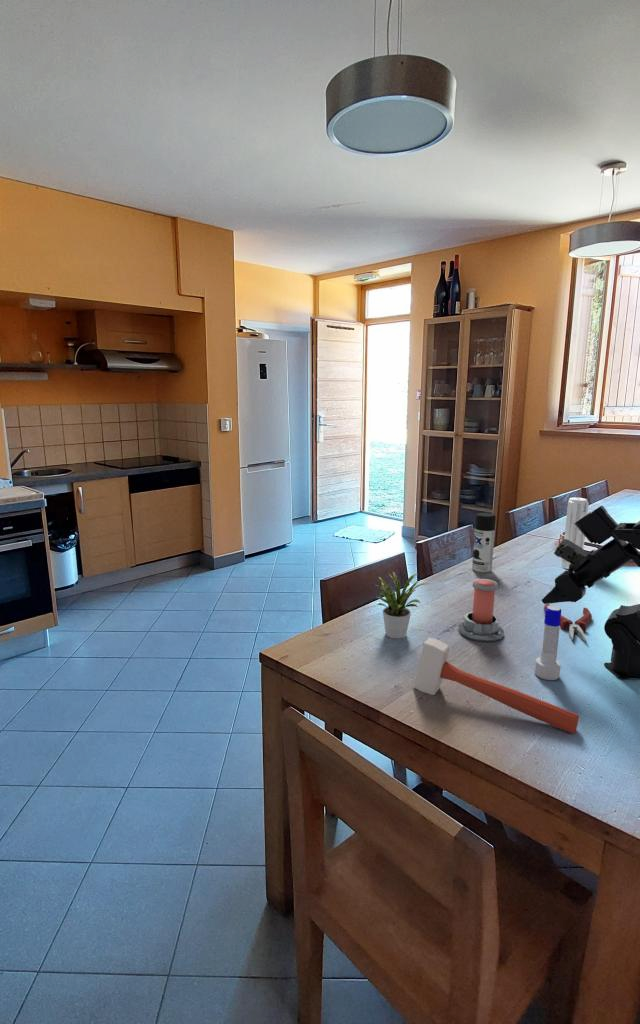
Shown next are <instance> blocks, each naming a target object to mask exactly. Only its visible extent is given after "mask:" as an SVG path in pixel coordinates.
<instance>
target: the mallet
mask: <svg viewBox="0 0 640 1024" xmlns="http://www.w3.org/2000/svg"><path fill="white" fill-rule="evenodd" d="M449 652H450V645H449V644H447V643H445V642H443V641H441V640H439V639H437V638H433V637H430V636H429V637H428V638H427V639H426V640H425V641H424V642H423V646H422V650H421V652H420V655H419V658H418V661H417V666H416V670H415V671H416V673H415V677H414V680H413V683H412V687H413V688H414V689H416V690H417V691H419V692H423V693H426V694H429V695H433V696H434V695H436V693H437V692H439V691H438V690H440V688H441V686H442V684H443V683H442V682H443V679H444V680H447V681H448V680H449V681H452V682H455V683H458V684H459V685H460V684H461V686H465V687H468V688H469V689H472V690H473V691H476V692H478V693H480V694H483V695H484V696H486V697H488V698H490V699H493V700H494V701H496V702H499V703H501V704H503V705H505V706H507V707H508V708H509V707H510V708H511V709H514V710H516V711H517V712H520V713H522V714H525V715H526V716H529V717H532V718H534V719H536V720H539V721H540V722H543V723H545V724H548V725H549V726H553V727H555V728H557V729H559V730H562V731H564V732H566V733H569V734H573V735H574V734H575V733H576V732H577V728H578V726H579V725H578V724H579V719H580V716H579V714H577V713H575V712H572V711H569V710H567V709H565V708H562V707H560V706H557V705H554V704H552V703H550V702H546V701H544V700H542V699H539V698H536V697H534V696H531V695H529V694H527V693H524V692H521V691H519V690H516V689H513V688H511V687H508V686H505V685H502V684H499V683H496V682H494V681H491V680H488V679H485V678H482V677H479V676H476V675H474V674H471V673H469V672H467V671H464V670H461V669H459V668H458V667H456V666H455V665H453V664H452V663H450V662H448V658H449V654H450V653H449Z"/></svg>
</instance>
